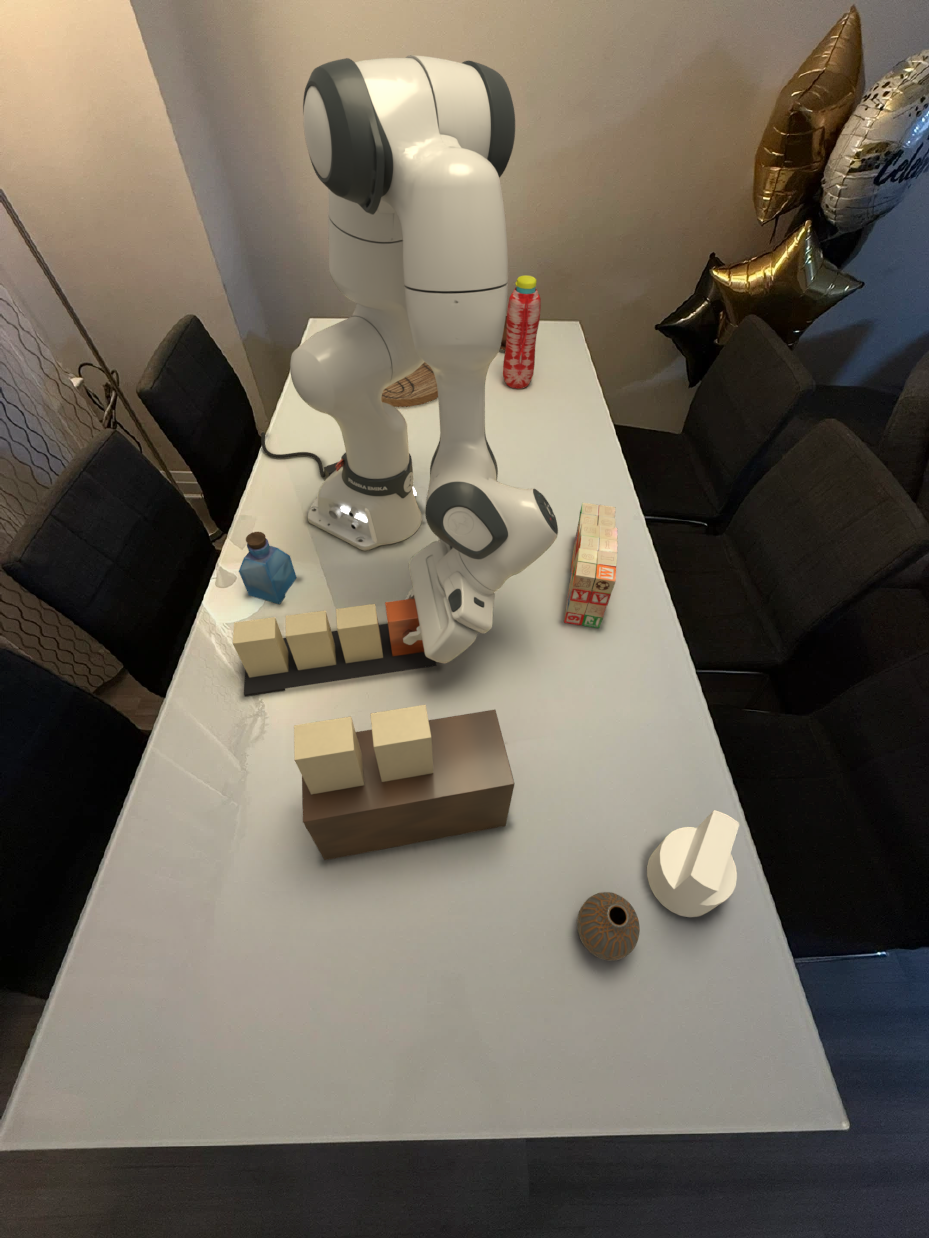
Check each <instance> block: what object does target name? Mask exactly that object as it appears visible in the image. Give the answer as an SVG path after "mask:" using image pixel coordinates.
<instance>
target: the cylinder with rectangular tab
mask: <svg viewBox="0 0 929 1238" xmlns="http://www.w3.org/2000/svg"><path fill="white" fill-rule="evenodd" d="M740 824H741V823H740V822H739V821H738V820H736V819H734V818H733V817H731V816H730V815H728V814H726V813H724V812H721V811H719V810H713V811H712V812H710V814H708V815H707V817H705V819H704V820H703V821H702V822H701V823H700V824H699V825H698V826H697V827H693V826H684V827H678V828H677V829H674V830H672V831H671V832H670V833H669V834H667V836H665V837H664V839H663V840H662V841H661V842H660V843H659V845H658V846H657V847H656V848H655V849H654V851H653V852H652V853H651V855H650V856H649V857H648V861H647V866H646V878H647V882H648V885H649V888H650V890H651V892H652V893H653V896H654V897H655V898H656V899H657V901H658V902H659V903H660V904H661V906H662V907H664V908H665V909H667V910H668V911H670V912H671V913H674V914H675V915H678V916H680V917H687V918H698V917H701V916H703V915H705V914H707V913H709V912H710V911H712V910H714V909H715V908H716V907H718V906H719V905H721V904H723V903H724V902H726V901H727V900H728V899H729V898H730V897H731V896H732V894H733V893H734V891H735V889H736V886H737V879H738V873H737V871H738V870H737V865H736V863H735V861H734V857H733V855H732V854H731V853H732V849H733V847H734V846H733V845H734V843H735V840H736V837H737V834H738V831H739V828H740Z"/></svg>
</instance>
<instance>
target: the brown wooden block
mask: <svg viewBox="0 0 929 1238" xmlns="http://www.w3.org/2000/svg"><path fill="white" fill-rule="evenodd" d="M369 715H370V716H369V717H370V722H371V723H370V724H371V725H370V727H371V729H366V730H360V731H356V728H355V725H354V721H353V718H352V716H351V715H350V716H344V717H338V718H333V719H326V720H320V721H319V720H318V721H312V722H306V723H301V724H294V725H293V751H294V752H293V753H294V755H293V756H294V757H293V759H294V762H295V764H296V767H297V768H298V770H299V773H300V775H301V799H302V800H301V801H302V803H301V805H302V823H303V825H304V827H305V828H306V830H307V832H308V834H309V835H310V838H311V839H312V841H313V842H314V844H315V846H316V848H317V850H318V851H319V853H320V855H321V857H322V858H323V860H324V861H328V860H335V859H339V858H345V857H349V856H355V855H360V854H366V853H370V852H376V851H381V850H386V849H387V850H388V849H392V848H396V847H397V848H398V847H403V846H408V845H412V844H418V843H423V842H424V843H425V842H429V841H434V840H440V839H444V838H450V837H454V836H455V837H456V836H460V835H467V834H471V833H477V832H481V831H487V830H492V829H497V828H502V827H503V828H504V827H506V826H507V822H508V817H509V813H510V809H511V808H510V807H511V803H512V797H513V795H514V788H515V779H514V776H513V771H512V768H511V765H510V760H509V756H508V753H507V749H506V745H505V741H504V737H503V734H502V730H501V726H500V722H499V718H498V717H499V716H498V713H497V710H496V709H488V710H484V711H483V710H482V711H477V712H471V713H465V714H458V715H453V716H452V715H451V716H447V717H439V718H434V719H429V715H428V709H427V705H426V704H419V705H413V706H408V707H402V708H396V709H395V708H394V709H389V710H381V711H377V712H371V713H370V714H369Z"/></svg>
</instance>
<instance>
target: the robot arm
mask: <svg viewBox="0 0 929 1238" xmlns="http://www.w3.org/2000/svg"><path fill="white" fill-rule="evenodd" d="M303 92H304V93H303V98H302V99H303V100H302V120H303V121H302V127H303V133H304V140H305V145H306V149H307V153H308V156H309V160H310V163H311V166H312V168H313V170H314V171H313V172H314V173H315V174H316V176H317V178H318V180H319V181H320V182H322V184H323V185H324V186H325V187H326V188H327V241H328V242H327V253H328V259H327V260H328V272H329V275H330V277H331V279H332V282H333V283H334V285H335V287H336V288H337V290H338V291H339V292H340V293H341V294H342V295H343V296H344V297H345V298H347V299H348V300H349V301H351V302H354V303H355V307H354V309H353V312H352V313H351V315H350V316H349V317H347V318H346V319H344V320H341V321H339V322H337V323H335V324H332V325H329V326H328V327H326V328H324V329H321V330H318V331H316V332H315V333H314V334H313V335H311V336H310V337H309V338H308V339H306V340H305V341H304V342H302V344H300V345H299V346H298V347H297V348H295V349H294V350H293V352H292V353H291V357H290V360H289V361H290V362H289V374H290V379H291V382H292V385H293V387H294V389H295V391H296V393H297V395H298V396H299V397H300V399H301V400H302V402H304V403H305V404H306V405H308V406H309V407H310V408H311V409H313V410H315V411H317V412H319V413H322V414H325V415H328V416H330V417H331V418H332V419H334V421H335V422H336V423H337V425H338V427H339V429H340V430H339V431H340V432H341V436H342V441H343V444H344V450H345V452H344V453H343V454H342V455H341V456H340V458H341V459H340V460H339V461H337V462H333V463H332V464H328V465H326V466H323V462H322V459H320V457H319V456H318V455H317V454H315V453H313V452H309V451H297V452H290V453H283V454H277V453H273V452H270V451H269V450H268V449H267V445H266V432H264V431H262V432H261V433H260V444H261V445H260V446H261V448H262V451H263V453H264V454H265V455H266V456H267V457H270V458H274V459H289V458H295V457H311V458H312V459H314V460H316V462H317V465H318V470H319V474H320V477H322V478H324V479H325V480H324V481H323V483H322V484H321V486H320V487H319V490H318V492H317V496H316V498H315V499H314V500H313V502H312V503H311V504H310V506H309V509H308V513H307V520H308V523H310V524H311V525H313V526H315V527H317V528H318V529H321V530H323V531H324V532H326V533H329V534H330V535H333V536H334V537H336V538H338V539H340V540H341V541H344V542H346V543H348V544H349V545H351V546H353V547H355V548H357V549H358V550H362V551H370V550H372V549H375V548H377V547H379V546H383V545H385V546H386V545H392V544H397V543H400V542H402V541H405V540H407V539H409V538H410V537H411V536H413V535H414V534H415V533H416V532H417V531H418V530H419V528H420V526H421V524H422V520H423V516H422V512H421V510H420V508H419V505H418V502H417V500H416V496H417V491H416V489H415V487H414V470H413V469H414V468H413V460H412V459H413V458H412V455H411V453H410V449H409V432H408V423H407V420H406V418H405V417H404V415H403V413H402V412H401V411H400V410H399V409H398V408H397V407H394V406H392V405H390V404H387V403H384V402H382V401H381V396H382V393H383V390H384V389H385V388H387V387H388V386H390V385H392V384H393V383H395V382H397V381H399V380H401V379H403V378H404V377H406V376H408V375H410V374H412V373H413V372H415V371H416V370H417V369H418V368H419V367H420V366H421V365H422V364H423V363H424V362H425V363H427V364H428V365H429V366H430V367H431V368H432V370H433V372H434V375H435V378H436V382H437V388H438V398H437V401H438V402H437V403H438V417H439V431H440V432H439V433H440V434H439V441H438V444H437V446H436V448H435V451H434V453H433V456H432V458H431V462H430V466H429V482H428V487H427V493H426V499H425V509H424V510H425V511H424V513H425V520H426V523H427V526H428V528H429V529H430V531H431V532H432V533H433V534H434V535H435V536H436V537H437V538H438V540H435V541H432V542H431V543H428V544H427V545H425V546H424V547H422V548H421V549H420V550H418V552H416V553H415V554H414V555H412V557H411V558H410V560H409V562H408V570H409V575H410V581H411V586H412V588H411V589H410V590H409V591H408V593H407V595H406V597H405V599H404V600H406V599H413V598H415V603H416V608H417V614H418V619H419V625H420V626H418V627H417V631H416V632H414V631H412V630H410V629H408V630H407V631H405V632H404V633H403V634H402V636H403V642H404V643H406V644H408V645H412V644H413V643H415V642H416V641H417V640H422V641H423V646H424V652H425V656H426V657H427V658H429V659H432V660H434V661H436V663H440V664H448V663H449V662H451V661H453V660H454V659H456V658H457V657H458V656H460V655H461V654H463V652H465V651H466V650H468V649H469V648H470V647H471V646H472V644H473V643H474V642H475V641H476V640H477V637H478V633H480V634H486V633H487V632H489V631H490V630H491V629H492V628H493V621H494V619H493V618H494V617H493V615H494V602H495V597H496V594H495V593H496V592H497V591H498V590H500V589H501V588H502V587H503V585H504V584H505V582H506V581H507V580H509V578H511V577H513V576H515V575H518V574H521V573H522V572H523V571H525V570H526V569H527V568H528V567H530V566H531V565H532V564H533V563H534V562H536V561H537V560H538V559H539V558H540V557H542V556H543V554H545V552H547V551H548V549H550V548H551V546H552V545H553V544H554V543H555V542H556V540H557V538H558V535H559V527H558V526H559V525H558V521H557V517H556V515H555V513H554V511H553V507H551V505H550V503H549V501H548V500H547V498H546V497H545V496H544V494H543V493H541V492H540V491H539V490H538V489H536V488H533V487H532V488H521V487H516V486H511V485H507V484H505V483H502V482H499V481H498V475H499V470H498V469H499V468H498V462H497V459H496V457H495V454H494V452H493V450H492V448H491V446H490V443H489V442H488V439H487V435H486V381H487V375H488V371H489V367H490V365H491V364H492V362H493V361H494V359H495V358H496V357H497V355H498V354H499V352H500V350H501V349H500V346H501V341H502V336H503V331H504V325H505V319H506V316H507V309H508V299H509V298H508V296H509V250H508V248H509V247H508V232H507V220H506V219H507V218H506V211H505V203H504V196H503V195H504V194H503V190H502V189H503V188H502V183H501V179H500V178H501V177H502V176H503V174H504V172H505V171H506V168H507V167H508V164H509V161H510V159H511V156H512V153H513V149H514V144H515V139H516V112H515V107H514V102H513V97H512V94H511V90H510V88H509V86H508V84H507V82H506V80H505V79H504V77H503V76H502V74H501V73H499V72H498V71H496V70H495V69H493V68H491V67H489V66H487V65H485V64H482V63H480V62H476V61H473V60H465V61H462V62H458V61H454V60H450V59H445V58H439V57H433V56H426V55H415V54H411V55H407V56H405V57H384V58H381V57H380V58H373V59H365V60H364V59H363V60H359V61H354V60H352V59H351V58H348V57H346V58H340V59H336V60H332V61H328V62H326V63H323V64H320V65H319V66H317V67H315V68H314V69H313V70H312V71H311V73H310V75H309V78H308V81H307V83H306V85H305V88H304V91H303Z"/></svg>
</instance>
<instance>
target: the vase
mask: <svg viewBox="0 0 929 1238" xmlns="http://www.w3.org/2000/svg"><path fill="white" fill-rule="evenodd" d="M576 926H577V932H578V936H579V938H580V941H581V944H582V945H583V946H584V947H585V948H586V950H587V951H588V952H589V953H590V954H592V955H593V956H594V957H596V958H598V959H601V960H604V961H611V962H613V961H618V960H621V959H624V958H625V957H627V956H628V955H630V953H632V951H634V949H635V948H636V946H637V944H638V941H639V939H640V931H641V928H640V921H639V917H638V914H637V911H636V910H635V908H634V907H633V906H632V904H631V903H630V902H629V901H628V900H627V899H626V898H624V897H623V896H621V895H620V894H617V893H615V892H609V891H602V892H598V893H595V894H592V895H591V896H589V897H588V898H587V899H586V900H585V901H584V902H583V904H581V906H580V909H579V911H578V914H577V919H576Z"/></svg>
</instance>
